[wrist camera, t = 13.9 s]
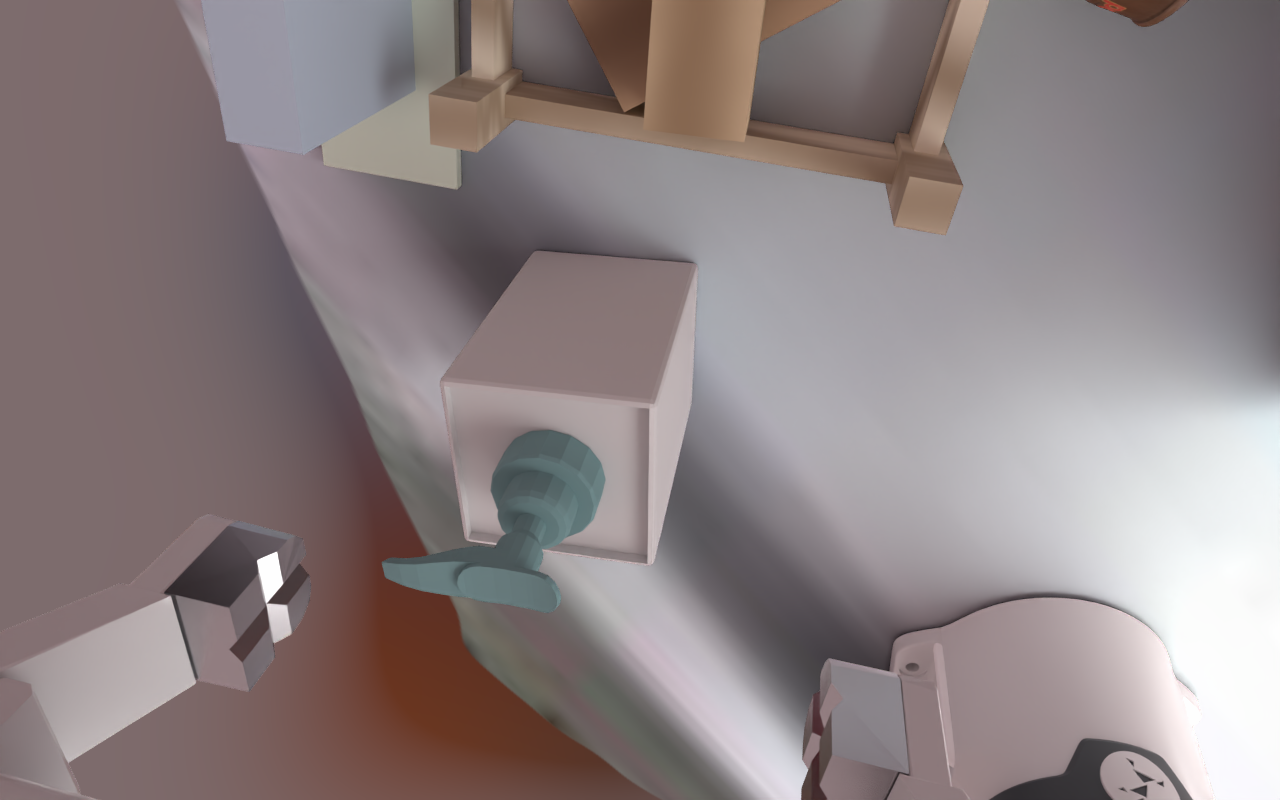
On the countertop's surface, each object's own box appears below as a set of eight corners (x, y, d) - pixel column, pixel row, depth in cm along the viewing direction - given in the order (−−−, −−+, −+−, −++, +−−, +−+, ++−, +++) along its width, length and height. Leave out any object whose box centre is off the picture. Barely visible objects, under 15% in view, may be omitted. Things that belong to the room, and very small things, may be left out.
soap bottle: (530, 248, 42) (357, 480, 26) (699, 261, 40) (623, 515, 25) (540, 387, 46) (400, 654, 31) (692, 403, 45) (624, 690, 30)
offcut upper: (786, -136, 29) (783, -135, 26) (749, 121, 34) (744, 142, 31) (675, -146, 29) (662, -146, 27) (655, 109, 34) (643, 129, 32)
